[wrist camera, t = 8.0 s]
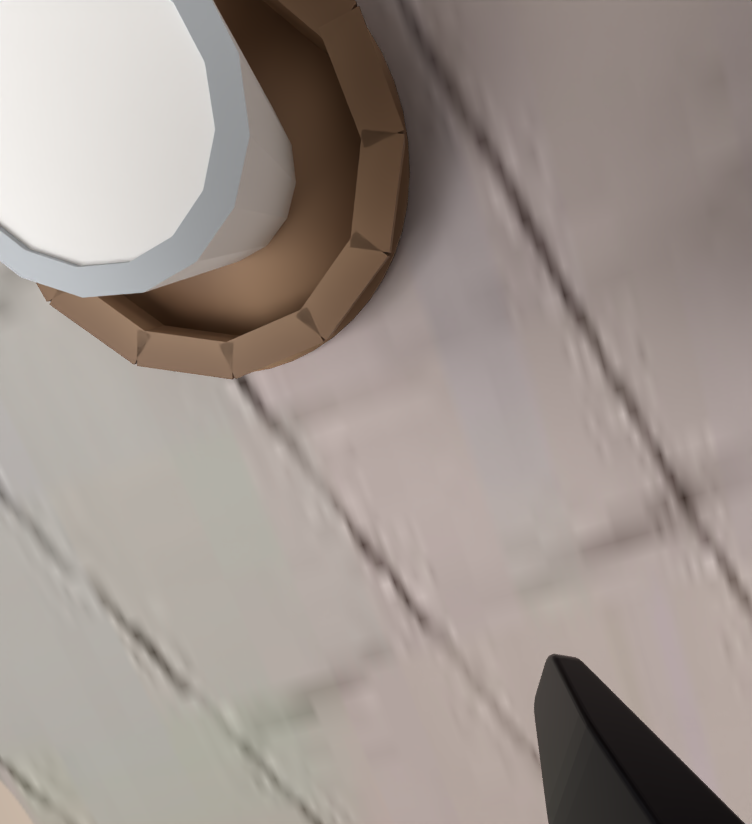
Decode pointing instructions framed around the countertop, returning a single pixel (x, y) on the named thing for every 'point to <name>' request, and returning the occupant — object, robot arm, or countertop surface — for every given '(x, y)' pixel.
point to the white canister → (132, 145)
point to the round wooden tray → (308, 215)
